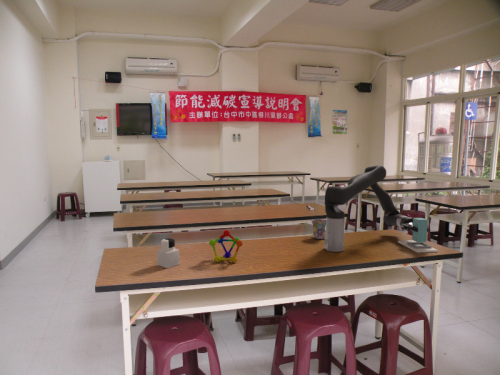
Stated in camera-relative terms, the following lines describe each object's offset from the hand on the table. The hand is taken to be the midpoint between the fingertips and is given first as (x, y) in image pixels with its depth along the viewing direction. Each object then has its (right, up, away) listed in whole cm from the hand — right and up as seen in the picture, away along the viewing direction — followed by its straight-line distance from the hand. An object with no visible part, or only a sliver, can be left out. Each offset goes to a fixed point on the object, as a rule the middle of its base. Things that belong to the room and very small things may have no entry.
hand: (422, 230), depth 183 cm
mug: (-50, -8, +26) cm, 57 cm away
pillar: (0, -6, +3) cm, 7 cm away
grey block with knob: (-128, -13, -24) cm, 131 cm away
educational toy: (-102, -12, -16) cm, 104 cm away
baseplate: (0, -10, +6) cm, 11 cm away
